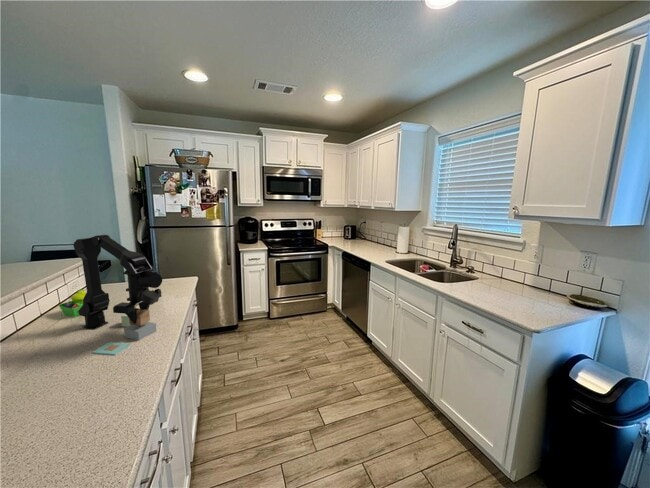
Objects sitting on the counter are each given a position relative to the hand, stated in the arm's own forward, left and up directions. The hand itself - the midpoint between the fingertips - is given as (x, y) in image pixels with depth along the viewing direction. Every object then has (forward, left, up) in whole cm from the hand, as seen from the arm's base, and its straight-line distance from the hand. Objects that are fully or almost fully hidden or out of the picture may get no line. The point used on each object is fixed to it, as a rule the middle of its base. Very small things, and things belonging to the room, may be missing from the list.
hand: (139, 320), depth 112 cm
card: (-2, -12, -6) cm, 14 cm away
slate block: (0, 0, -6) cm, 7 cm away
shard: (-25, +34, -7) cm, 43 cm away
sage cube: (-11, +8, -6) cm, 15 cm away
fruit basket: (-45, +14, -6) cm, 47 cm away
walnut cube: (0, 0, -1) cm, 1 cm away
